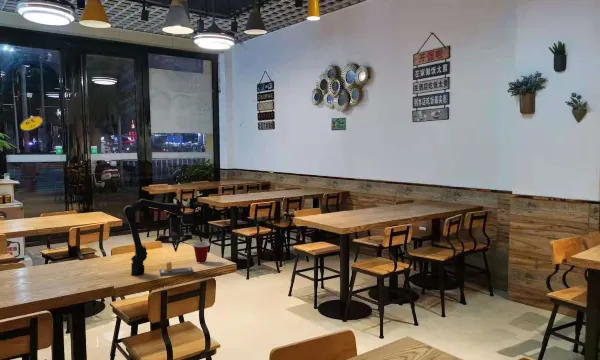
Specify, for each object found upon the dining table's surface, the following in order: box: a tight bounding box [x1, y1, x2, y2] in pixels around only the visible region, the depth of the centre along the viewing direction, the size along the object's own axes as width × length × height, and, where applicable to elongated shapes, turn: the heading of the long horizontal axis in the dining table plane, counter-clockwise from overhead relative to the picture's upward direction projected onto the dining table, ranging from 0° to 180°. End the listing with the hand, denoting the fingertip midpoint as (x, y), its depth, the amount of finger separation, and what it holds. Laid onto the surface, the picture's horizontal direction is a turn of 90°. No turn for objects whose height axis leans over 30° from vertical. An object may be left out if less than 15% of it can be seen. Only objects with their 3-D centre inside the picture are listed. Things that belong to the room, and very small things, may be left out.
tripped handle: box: [165, 261, 173, 271], centre depth 253 cm, size 2×4×4 cm, turn 20°
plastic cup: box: [192, 241, 211, 263], centre depth 279 cm, size 11×11×12 cm
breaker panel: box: [159, 266, 194, 277], centre depth 255 cm, size 18×8×2 cm, turn 110°
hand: (175, 251), depth 260 cm, fingers closed
